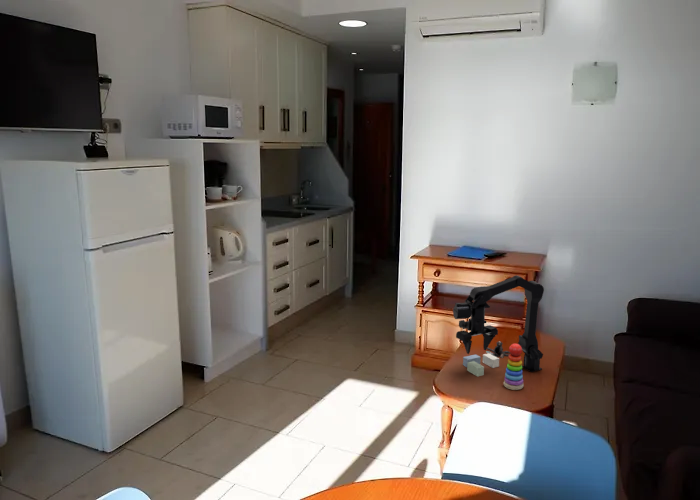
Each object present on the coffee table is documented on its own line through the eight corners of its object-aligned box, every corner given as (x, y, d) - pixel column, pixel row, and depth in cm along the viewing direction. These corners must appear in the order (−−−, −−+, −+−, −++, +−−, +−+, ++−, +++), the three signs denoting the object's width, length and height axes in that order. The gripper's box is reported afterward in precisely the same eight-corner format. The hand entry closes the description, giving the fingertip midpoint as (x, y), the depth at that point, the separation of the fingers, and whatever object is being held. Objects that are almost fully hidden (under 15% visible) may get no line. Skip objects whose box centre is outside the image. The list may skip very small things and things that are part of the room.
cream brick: (498, 366, 244) (499, 358, 243) (492, 368, 243) (493, 359, 242) (488, 361, 250) (488, 353, 250) (482, 362, 249) (482, 354, 248)
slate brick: (475, 362, 249) (475, 354, 248) (480, 365, 246) (480, 357, 245) (462, 365, 246) (463, 357, 245) (467, 368, 243) (468, 359, 242)
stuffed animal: (514, 357, 252) (493, 341, 254) (501, 372, 255) (480, 355, 257) (516, 348, 262) (496, 332, 264) (504, 362, 266) (484, 347, 268)
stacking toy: (499, 384, 226) (501, 341, 223) (515, 381, 229) (517, 339, 225) (511, 392, 219) (513, 348, 215) (527, 388, 222) (530, 345, 218)
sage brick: (483, 375, 235) (484, 366, 235) (477, 376, 234) (477, 368, 233) (473, 369, 242) (473, 361, 241) (467, 370, 240) (467, 362, 239)
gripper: (482, 309, 244) (481, 342, 247) (448, 315, 236) (447, 349, 239) (499, 316, 234) (497, 350, 237) (464, 322, 226) (463, 358, 229)
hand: (476, 351), depth 236 cm, fingers open, 9 cm apart
